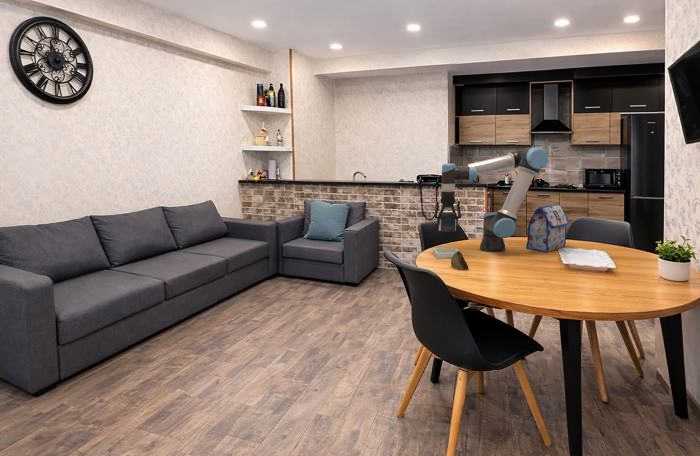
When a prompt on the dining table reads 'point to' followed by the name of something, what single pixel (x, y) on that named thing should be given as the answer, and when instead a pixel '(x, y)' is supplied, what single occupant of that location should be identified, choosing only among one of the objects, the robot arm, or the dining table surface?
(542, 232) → the lunch bag
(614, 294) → the dining table surface
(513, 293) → the dining table surface
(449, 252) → the tray
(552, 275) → the dining table surface
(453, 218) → the box
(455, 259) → the rock
